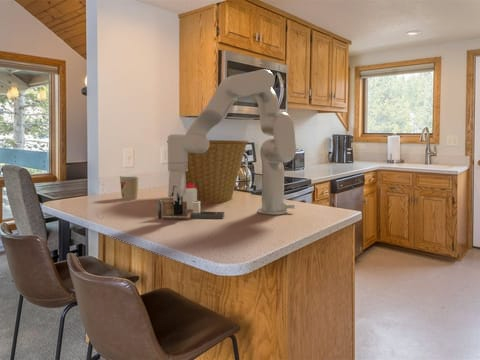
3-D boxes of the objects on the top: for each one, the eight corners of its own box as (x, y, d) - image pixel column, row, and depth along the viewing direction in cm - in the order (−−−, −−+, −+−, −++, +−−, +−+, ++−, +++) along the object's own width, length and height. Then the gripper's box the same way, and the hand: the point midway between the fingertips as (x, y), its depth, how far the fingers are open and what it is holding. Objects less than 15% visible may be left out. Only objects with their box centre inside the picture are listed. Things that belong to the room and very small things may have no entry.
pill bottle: (194, 209, 171) (193, 185, 169) (177, 209, 172) (177, 184, 171) (199, 206, 178) (199, 183, 177) (183, 205, 180) (183, 182, 178)
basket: (151, 201, 191) (149, 140, 187) (193, 190, 229) (193, 139, 225) (228, 208, 174) (228, 142, 171) (259, 195, 213) (260, 140, 209)
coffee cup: (120, 197, 201) (119, 175, 200) (138, 197, 204) (138, 174, 203) (120, 200, 193) (119, 176, 191) (139, 199, 195) (139, 176, 194)
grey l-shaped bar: (187, 218, 153) (187, 200, 152) (186, 219, 151) (186, 200, 151) (158, 218, 154) (158, 199, 153) (157, 218, 152) (157, 200, 151)
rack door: (187, 216, 153) (186, 201, 152) (186, 216, 151) (186, 201, 151) (163, 215, 153) (163, 200, 152) (162, 216, 152) (162, 201, 151)
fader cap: (200, 211, 158) (200, 200, 158) (198, 213, 155) (198, 202, 154) (194, 211, 159) (194, 200, 158) (192, 213, 155) (192, 202, 154)
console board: (224, 215, 159) (224, 211, 159) (222, 218, 153) (222, 214, 153) (193, 214, 160) (193, 211, 160) (190, 217, 154) (190, 214, 154)
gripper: (172, 165, 154) (173, 210, 156) (163, 168, 139) (163, 218, 141) (191, 165, 153) (191, 210, 155) (183, 168, 138) (184, 218, 140)
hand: (178, 214), depth 148 cm, fingers closed
